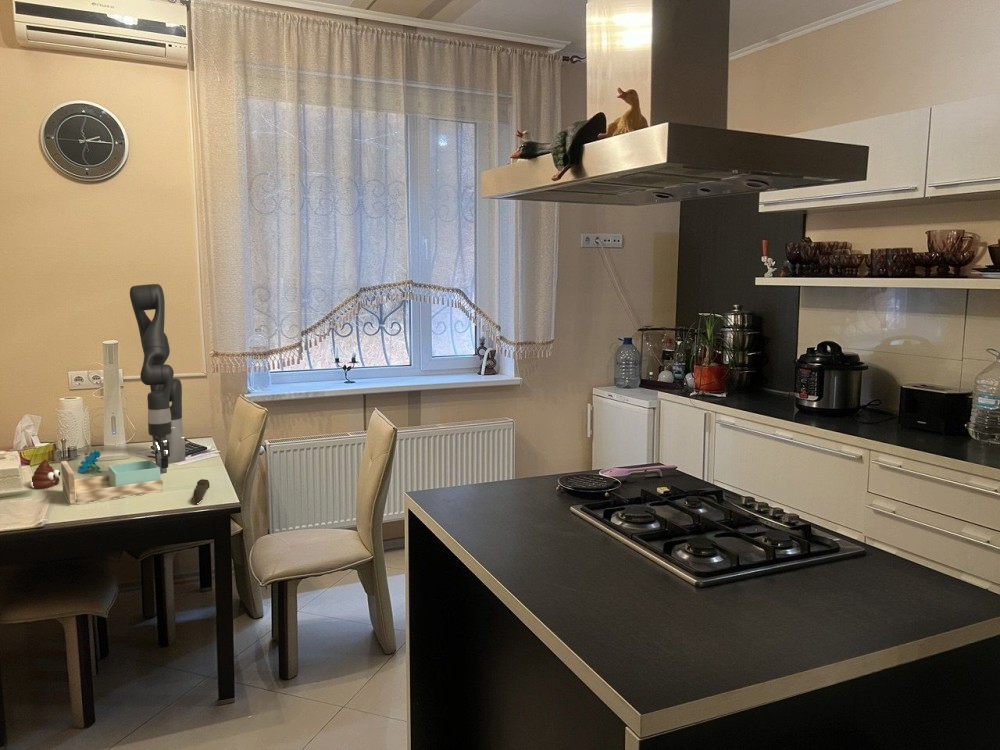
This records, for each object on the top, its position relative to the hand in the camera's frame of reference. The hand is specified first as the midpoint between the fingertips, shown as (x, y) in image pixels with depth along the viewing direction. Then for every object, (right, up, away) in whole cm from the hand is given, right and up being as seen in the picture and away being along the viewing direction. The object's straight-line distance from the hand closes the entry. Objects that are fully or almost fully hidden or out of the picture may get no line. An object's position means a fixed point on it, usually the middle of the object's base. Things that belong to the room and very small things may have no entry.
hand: (161, 465), depth 265 cm
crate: (-6, -6, -3) cm, 9 cm away
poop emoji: (-40, -7, -1) cm, 41 cm away
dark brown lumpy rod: (+19, -10, -12) cm, 25 cm away
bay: (-13, -8, -9) cm, 18 cm away
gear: (-35, -5, +17) cm, 39 cm away
